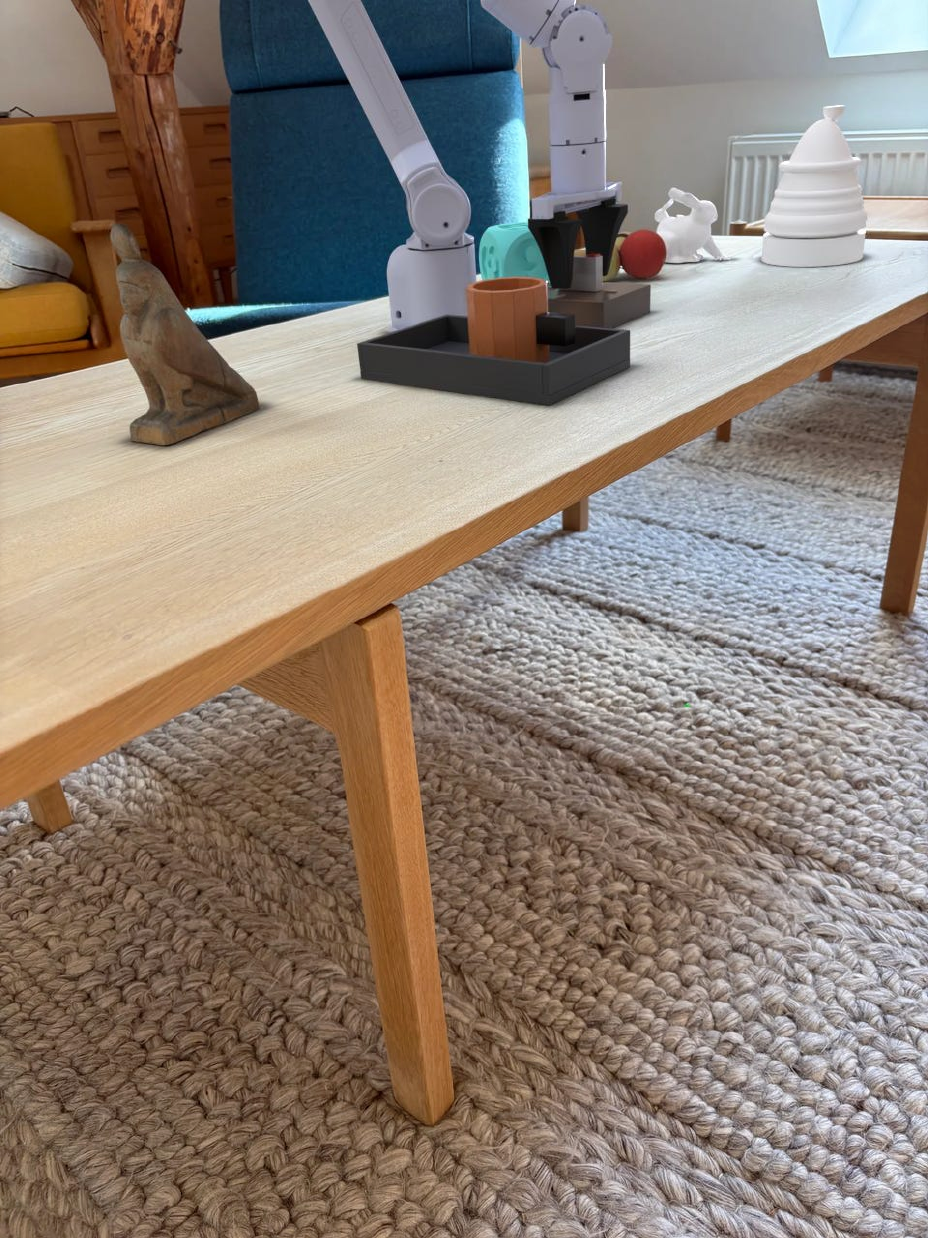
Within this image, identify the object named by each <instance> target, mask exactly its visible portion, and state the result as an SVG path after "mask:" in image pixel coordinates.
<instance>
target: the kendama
mask: <svg viewBox="0 0 928 1238" xmlns="http://www.w3.org/2000/svg"><path fill="white" fill-rule="evenodd" d="M656 232H657V231H655V230H651V229H642V228H641V229H637V230H635V231H632V232H630V231H621V232H618V235H617V238H616V242H615V245H614V249H613V254H612V258H611V263H610V267H609V271H608V275H606V276H603V282H609V281H610V280H612V279H614V278H615V277H616V276H618V274H619V272H620V270H623V271H624V272H625V273H626V274H627V275H628V276H629V277H631V278H633V279H638V280H645V279H652V278H654V277H656V276H657V275H658V274H659V273H660V272H661V271H662V269H663V267H664V266H665V263H666V262H665V260H666V254H667V252H666V245H665V242H664V240H663V239H662V237H661V236H660V235H659V234H657V233H656ZM574 255H586V250H585V249H575V251H574Z"/></svg>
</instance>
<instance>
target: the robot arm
mask: <svg viewBox="0 0 928 1238" xmlns="http://www.w3.org/2000/svg"><path fill="white" fill-rule="evenodd" d="M307 1H308V4H309V5H310V7H311V9H312V12H313V13H314V16H316V19H317V21H318V22H319V26H320V27H321V29H322V30H323V32H324V35H325V37H326V39H327V40H328V42H329V44H330V47H331V48H332V50H333V52H334V54H335V57H336V59H337V60H338V62H339V64H340V66H341V68H342V70H343V72H344V74H345V76H346V78H347V80H348V82H349V84H350V86H351V88H352V89H353V91H354V94H355V96H356V97H357V99H358V101H359V104H360V105H361V107H362V110H363V112H364V113H365V115H366V117H367V119H368V121H369V123H370V125H371V128H372V129H373V131H374V133H375V135H376V137H377V139H378V141H379V143H380V145H381V147H382V149H383V151H384V153H385V155H386V156H387V158H388V161H389V163H390V165H391V167H392V169H393V171H394V173H395V175H396V177H397V179H398V181H399V184H400V185H401V187H402V190H403V191H404V194H405V196H406V198H405V199H406V211H407V214H408V220H409V224H410V227H411V228H412V230H413V232H412V234H411V235H410V237H409V238H407V239H406V241H405V244H401V245H399V246H398V247H396V248H395V249H393V251H392V252H391V254H390V256H389V259H388V262H387V267H386V280H387V291H388V299H389V300H388V301H389V309H390V310H389V311H390V320H391V326H390V327H387V328H386V329H387V333H391V332H394V331H397V330H400V329H403V328H406V327H409V326H413V325H416V324H419V323H422V322H425V321H428V320H431V319H434V318H437V317H440V316H443V315H458V316H467V301H466V287H467V286H468V284H471V283H474V282H477V281H478V280H477V267H476V250H475V236H474V235H471V234H469V233H466V231H467V229H468V227H469V224H470V221H471V218H472V217H471V215H472V209H471V203H470V200H469V197H468V195H467V193H466V192H465V190H464V189H463V188H462V186H460V185H459V183H458V182H457V181H456V180H455V179H454V178H452V177H451V176H450V175H448V174H447V173H446V171H445V170H444V167H443V166H442V163H441V162H440V160H439V158H438V155H437V154H436V151H435V150H434V148H433V146H432V144H431V141H430V140H429V138H428V136H427V134H426V132H425V130H424V128H423V126H422V123H421V121H420V120H419V118H418V115H417V113H416V111H415V109H414V107H413V105H412V103H411V101H410V98H409V97H408V94H407V93H406V91H405V89H404V87H403V85H402V82H401V80H400V78H399V76H398V74H397V73H396V70H395V68H394V66H393V64H392V62H391V60H390V58H389V55H388V54H387V51H386V50H385V46H384V45H383V43H382V41H381V39H380V37H379V35H378V33H377V31H376V29H375V27H374V24H373V23H372V20H371V18H370V16H369V15H368V12H367V10H366V8H365V6H364V4H363V1H362V0H307ZM576 2H577V0H480V5H481V8H483V9H484V10H485V11H486V12H488V13H489V14H490V15H491V16H493V17H494V18H495V19H497V20H498V21H499V22H500V23H501V24H503V25H504V26H505V27H506V28H507V29H509V30H510V31H511V32H513V34H515V35H516V36H518V38H520V39H521V40H522V41H524V42H525V43H527V45H529V46H530V47H531V48H532V49H535V48H537V47H539V48H540V49H541V51H540V52H541V55H542V59H543V60H544V62H545V64H546V66H548V68H549V69H548V70H549V71H548V74H549V94H548V97H547V99H548V127H549V132H548V133H549V165H550V191H548V192H547V193H544V194H542V195H540V196H537V197H534V198H531V217H529V218H527V222H528V229H529V230H530V232H531V233H532V235H533V237H534V238H535V240H536V242H537V244H538V246H539V248H540V251H541V253H542V256H543V259H544V262H545V266H546V269H547V273H548V277H549V280H550V284H551V287H552V288H556V289H569V288H571V284H572V278H573V262H574V251H575V250H576V244H577V240H578V236H579V232H580V231H582V232H581V233H582V236H583V239H584V240H583V241H584V247H585V248H584V250H586V255H588V254H591V253H600V256H603V276H606V275H608V271H609V267H610V263H611V258H612V254H613V249H614V245H615V242H616V238H617V235H618V234H619V233H620V230H621V228H622V225H623V223H624V221H625V219H626V217H627V215H628V214H629V204H627V203H620V202H622V198H623V197H622V195H623V193H622V192H623V191H622V188H623V187H622V184H623V183H622V181H617V182H616V181H613V182H612V181H610V182H609V181H607V142H606V141H607V122H606V121H607V114H606V113H607V111H606V110H607V105H606V104H607V98H606V94H607V93H606V89H605V75H606V74H605V62H606V61H607V58H608V56H609V54H610V51H611V49H612V45H613V36H612V35H611V34H610V29H609V26H608V25H607V20H606V19H605V17H604V15H602V13H601V12H600V10H598V9H596V8H595V7H593V6H590V5H587V4H577V5H576ZM618 202H619V203H618ZM574 212H575V213H576V216H577V218H575V219H574V218H573V219H570V218H569V216H566V214H570V213H574ZM580 229H581V230H580Z"/></svg>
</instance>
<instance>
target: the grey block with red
mask: <svg viewBox="0 0 928 1238" xmlns="http://www.w3.org/2000/svg"><path fill="white" fill-rule="evenodd" d="M603 282H604V281H603V256H600V253H591V254H588V255H574V262H573V278H572V284H571V288H569V289H558V290H574V291H590V292H597V291H600V290H602V289H603Z"/></svg>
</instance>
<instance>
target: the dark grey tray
mask: <svg viewBox="0 0 928 1238" xmlns="http://www.w3.org/2000/svg"><path fill="white" fill-rule="evenodd" d="M356 348H357V354H358V356H357V357H358V364H359V370H360V371H359V372H360V379H361V380H368V381H375V382H380V383H388V384H395V385H396V384H397V385H402V386H410V387H417V388H423V389H430V390H438V391H445V392H453V393H458V394H459V393H460V394H465V395H474V396H481V397H486V398H493V399H494V398H495V399H501V400H508V401H509V400H510V401H516V402H523V403H530V404H536V405H545V406H551V405H554V404H556V403H557V402H560V401H562V400H564V399H565V398H568V397H570V396H572V395H574V394H576V393H579V392H580V391H583V390H585V389H587V388H589V387H591V386H593V385H595V384H597V383H599V382H602V381H603V380H606V379H608V378H609V377H612V376H614V375H616V374H618V373H620V372H623V371H624V370H626V369H628V368H630V367H631V330H630V329H623V328H600V327H588V326H576V325H575V343H573V344H571V345H568V346H566V347H563V346H553V345H549V362H548V363H542V362H533V361H525V360H516V359H507V358H498V357H489V356H480V355H471V354H470V347H469V331H468V316H458V315H443V316H440V317H437V318H434V319H431V320H428V321H425V322H422V323H419V324H416V325H413V326H409V327H406V328H403V329H400V330H397V331H394V332H391V333H390V332H387V333H385V334H382V335H379V336H376V337H373V338H370V339H366V340H363V341H360V342H358V343H356Z"/></svg>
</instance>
